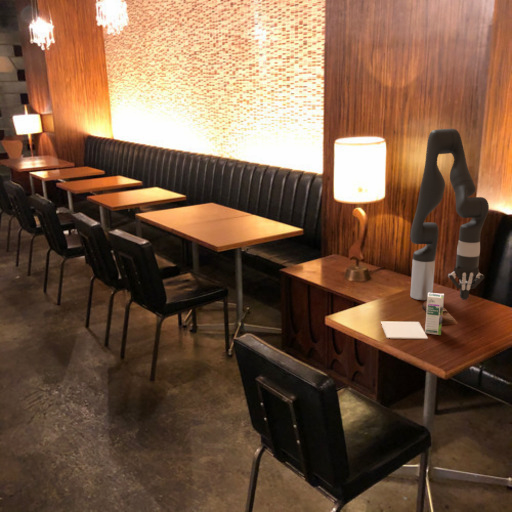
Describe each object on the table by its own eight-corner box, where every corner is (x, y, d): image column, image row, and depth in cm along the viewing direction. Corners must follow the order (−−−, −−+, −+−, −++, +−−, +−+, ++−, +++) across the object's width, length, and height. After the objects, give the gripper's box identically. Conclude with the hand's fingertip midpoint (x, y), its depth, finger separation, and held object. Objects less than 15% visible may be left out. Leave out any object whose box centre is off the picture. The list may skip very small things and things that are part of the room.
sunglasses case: (459, 323, 208) (452, 310, 206) (443, 333, 208) (436, 319, 206) (441, 307, 225) (434, 294, 223) (426, 315, 225) (419, 303, 224)
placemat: (380, 322, 210) (380, 321, 210) (418, 323, 209) (418, 321, 209) (386, 338, 196) (386, 337, 195) (427, 339, 194) (427, 337, 194)
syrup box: (424, 333, 199) (427, 296, 195) (425, 327, 205) (428, 291, 201) (440, 335, 197) (443, 298, 193) (441, 329, 203) (444, 293, 199)
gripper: (483, 250, 195) (479, 295, 200) (446, 250, 196) (442, 295, 201) (490, 256, 188) (486, 302, 193) (452, 255, 189) (448, 302, 194)
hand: (463, 299), depth 197 cm, fingers closed
